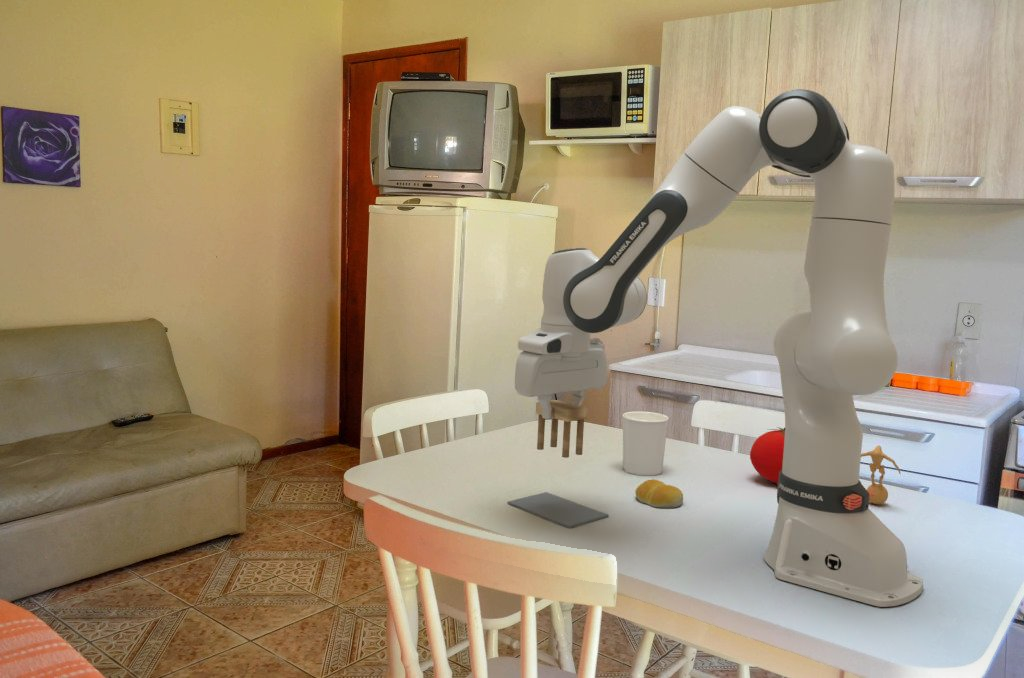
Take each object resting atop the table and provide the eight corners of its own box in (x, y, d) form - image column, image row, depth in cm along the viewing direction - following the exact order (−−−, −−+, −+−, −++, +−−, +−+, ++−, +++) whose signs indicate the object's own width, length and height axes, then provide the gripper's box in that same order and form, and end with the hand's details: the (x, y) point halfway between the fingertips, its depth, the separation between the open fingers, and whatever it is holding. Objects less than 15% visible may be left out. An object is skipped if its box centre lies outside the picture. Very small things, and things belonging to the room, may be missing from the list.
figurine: (901, 506, 159) (907, 446, 157) (893, 513, 154) (899, 451, 153) (856, 497, 164) (862, 438, 163) (847, 503, 159) (853, 443, 158)
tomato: (816, 495, 164) (821, 439, 163) (745, 485, 169) (749, 431, 168) (818, 479, 176) (822, 427, 174) (751, 470, 181) (755, 419, 179)
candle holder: (672, 469, 179) (675, 415, 178) (654, 479, 171) (658, 423, 169) (630, 461, 184) (633, 409, 183) (611, 471, 176) (614, 416, 174)
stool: (553, 445, 152) (555, 400, 151) (585, 454, 146) (587, 407, 145) (534, 448, 149) (536, 402, 148) (565, 458, 143) (568, 410, 142)
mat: (608, 516, 146) (608, 514, 146) (569, 528, 140) (569, 526, 140) (546, 494, 158) (546, 492, 158) (507, 503, 151) (507, 501, 151)
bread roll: (665, 512, 151) (666, 491, 150) (628, 499, 157) (629, 479, 157) (692, 504, 156) (694, 484, 155) (655, 492, 163) (657, 472, 162)
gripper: (591, 335, 154) (587, 407, 156) (510, 340, 141) (507, 419, 143) (617, 339, 150) (612, 413, 151) (536, 345, 136) (532, 426, 138)
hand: (560, 416), depth 147 cm, fingers closed on stool, 5 cm apart
